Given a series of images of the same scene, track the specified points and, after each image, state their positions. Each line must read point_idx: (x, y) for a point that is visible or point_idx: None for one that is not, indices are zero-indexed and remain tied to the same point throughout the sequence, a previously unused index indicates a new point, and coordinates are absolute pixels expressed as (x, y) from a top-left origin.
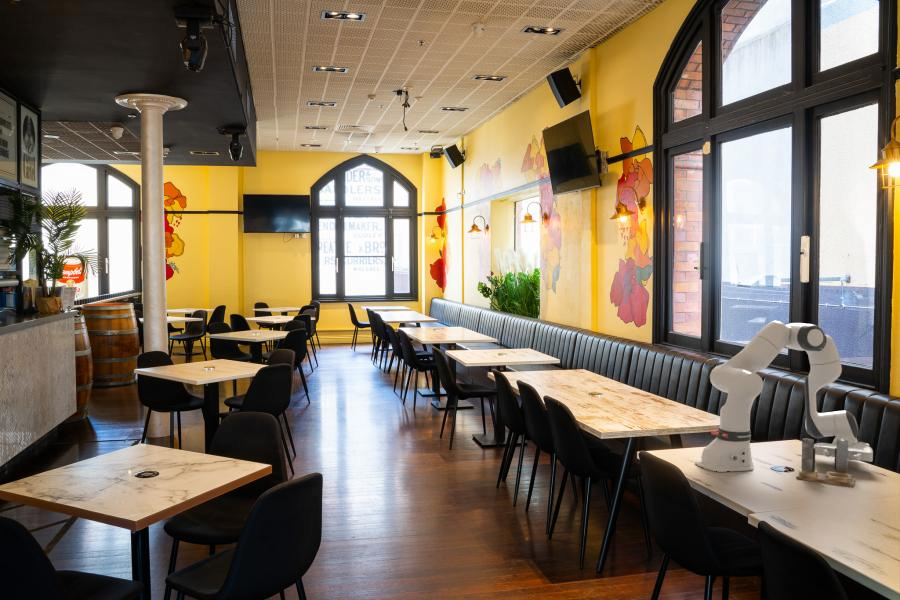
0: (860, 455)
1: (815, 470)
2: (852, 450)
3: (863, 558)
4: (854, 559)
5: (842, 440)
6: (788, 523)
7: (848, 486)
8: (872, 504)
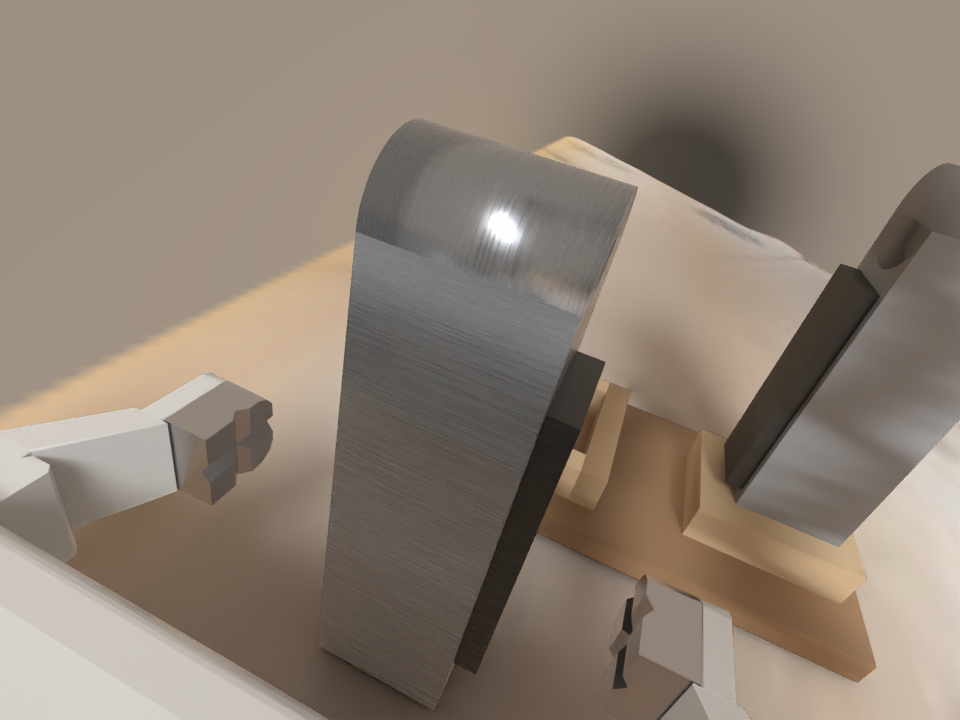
0: (60, 435)
1: (715, 502)
2: (38, 559)
3: (588, 156)
4: (601, 158)
5: (529, 155)
6: (714, 221)
7: None
8: None
